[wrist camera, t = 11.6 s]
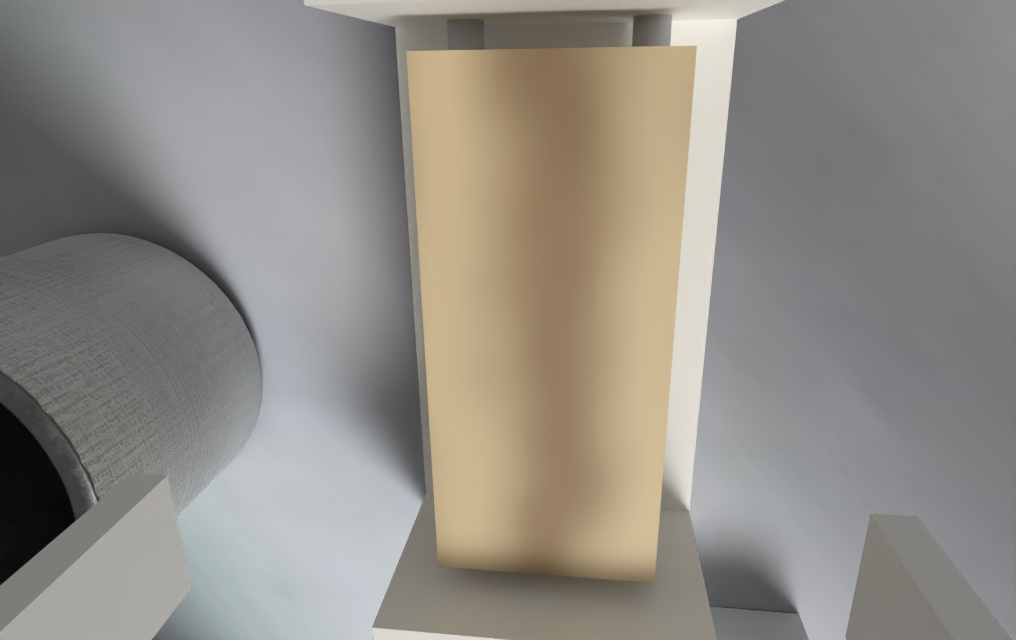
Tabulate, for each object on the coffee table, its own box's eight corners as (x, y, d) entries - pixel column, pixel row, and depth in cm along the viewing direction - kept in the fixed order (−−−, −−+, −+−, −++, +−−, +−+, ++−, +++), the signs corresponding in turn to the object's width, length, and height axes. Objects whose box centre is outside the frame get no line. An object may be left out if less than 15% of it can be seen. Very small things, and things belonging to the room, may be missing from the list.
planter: (170, 180, 28) (-82, 241, 18) (320, 423, 31) (183, 596, 21) (-33, 292, 31) (-348, 401, 21) (123, 502, 34) (-82, 687, 24)
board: (454, 517, 28) (438, 566, 25) (430, 54, 21) (406, 51, 19) (648, 530, 27) (654, 583, 24) (682, 49, 20) (696, 45, 18)
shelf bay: (431, 512, 32) (375, 661, 24) (398, -19, 24) (296, -68, 16) (683, 529, 31) (716, 694, 22) (737, -30, 23) (817, -90, 14)
